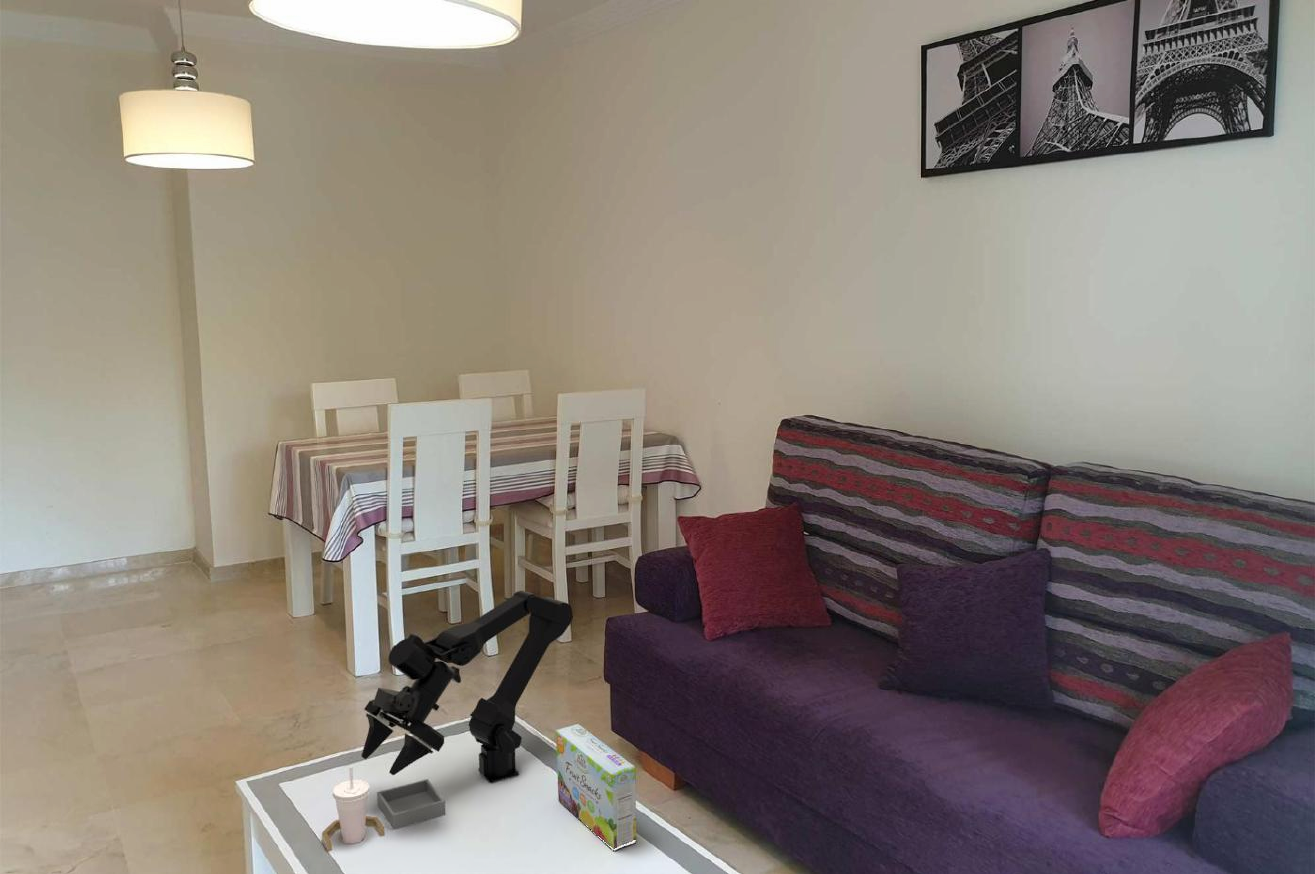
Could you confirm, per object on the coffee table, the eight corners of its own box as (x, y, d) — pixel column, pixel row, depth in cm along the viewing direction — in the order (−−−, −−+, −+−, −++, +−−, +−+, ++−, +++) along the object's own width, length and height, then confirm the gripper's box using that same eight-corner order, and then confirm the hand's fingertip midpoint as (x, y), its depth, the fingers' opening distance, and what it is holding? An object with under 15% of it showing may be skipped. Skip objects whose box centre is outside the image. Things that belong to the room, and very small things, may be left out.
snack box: (555, 802, 195) (554, 728, 193) (580, 794, 199) (579, 721, 196) (612, 853, 178) (611, 773, 176) (638, 843, 181) (638, 764, 179)
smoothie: (338, 851, 178) (335, 777, 176) (332, 833, 184) (328, 761, 182) (375, 842, 181) (372, 769, 179) (367, 825, 187) (364, 754, 185)
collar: (373, 817, 189) (373, 810, 189) (384, 834, 184) (384, 827, 183) (317, 832, 184) (317, 825, 184) (327, 851, 178) (327, 843, 178)
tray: (427, 792, 199) (427, 778, 199) (445, 814, 191) (445, 800, 190) (377, 805, 194) (376, 792, 193) (393, 829, 185) (392, 815, 185)
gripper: (371, 658, 192) (320, 731, 186) (429, 684, 180) (377, 763, 173) (407, 685, 199) (360, 757, 193) (465, 712, 187) (417, 789, 180)
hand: (377, 765), depth 185 cm, fingers open, 9 cm apart
